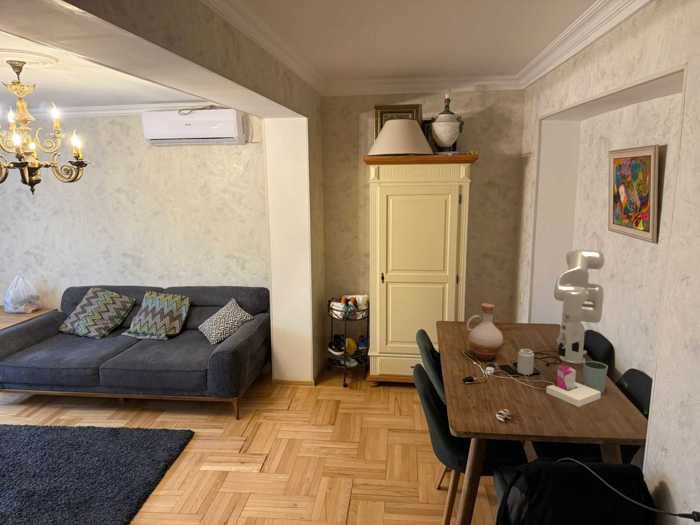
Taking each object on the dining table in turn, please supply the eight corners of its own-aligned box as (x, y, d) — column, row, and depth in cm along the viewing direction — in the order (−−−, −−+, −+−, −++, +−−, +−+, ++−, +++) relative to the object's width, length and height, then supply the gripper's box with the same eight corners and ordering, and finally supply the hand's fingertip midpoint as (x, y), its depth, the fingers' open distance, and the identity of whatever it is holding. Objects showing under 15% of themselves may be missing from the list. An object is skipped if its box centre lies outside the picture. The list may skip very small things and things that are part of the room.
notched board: (568, 385, 226) (568, 379, 226) (600, 398, 213) (600, 391, 212) (546, 392, 218) (546, 386, 218) (578, 407, 205) (578, 400, 204)
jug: (462, 360, 257) (464, 306, 252) (467, 349, 273) (469, 298, 268) (500, 365, 250) (503, 310, 244) (503, 354, 266) (506, 302, 261)
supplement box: (567, 388, 222) (569, 365, 220) (574, 394, 217) (576, 370, 215) (555, 389, 222) (557, 366, 220) (562, 395, 216) (564, 371, 214)
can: (532, 371, 243) (534, 348, 240) (533, 377, 236) (534, 354, 234) (517, 369, 245) (518, 347, 243) (517, 375, 238) (518, 352, 236)
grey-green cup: (596, 395, 216) (598, 370, 213) (576, 387, 224) (578, 362, 222) (610, 391, 220) (612, 366, 218) (590, 382, 229) (592, 359, 227)
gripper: (566, 323, 205) (563, 360, 209) (590, 316, 214) (587, 352, 217) (551, 318, 212) (548, 354, 215) (575, 312, 220) (572, 347, 224)
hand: (568, 353), depth 216 cm, fingers open, 9 cm apart
